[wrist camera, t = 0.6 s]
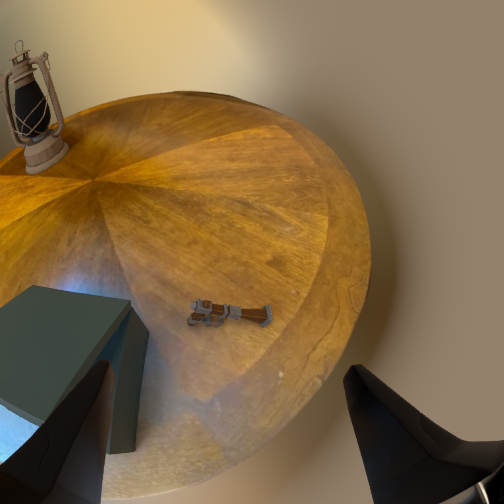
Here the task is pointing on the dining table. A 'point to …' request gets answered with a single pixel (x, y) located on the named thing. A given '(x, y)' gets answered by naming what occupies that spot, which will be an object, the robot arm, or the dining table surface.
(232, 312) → the toy rocket launcher
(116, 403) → the chest
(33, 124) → the lantern
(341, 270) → the dining table surface
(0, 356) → the lid
